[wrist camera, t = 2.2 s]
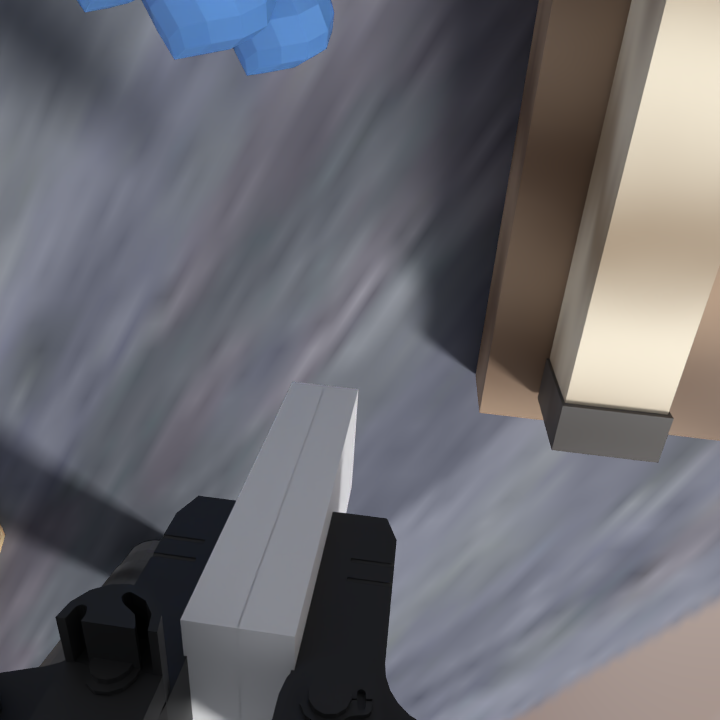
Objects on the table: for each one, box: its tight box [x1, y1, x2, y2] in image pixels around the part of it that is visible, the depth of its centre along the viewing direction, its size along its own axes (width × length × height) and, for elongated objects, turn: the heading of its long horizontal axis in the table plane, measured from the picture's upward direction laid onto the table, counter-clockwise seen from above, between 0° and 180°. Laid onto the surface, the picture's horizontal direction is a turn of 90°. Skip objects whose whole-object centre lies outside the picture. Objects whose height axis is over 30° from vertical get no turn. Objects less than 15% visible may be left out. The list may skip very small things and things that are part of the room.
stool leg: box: [538, 0, 720, 463], centre depth 16 cm, size 16×4×3 cm, turn 176°
